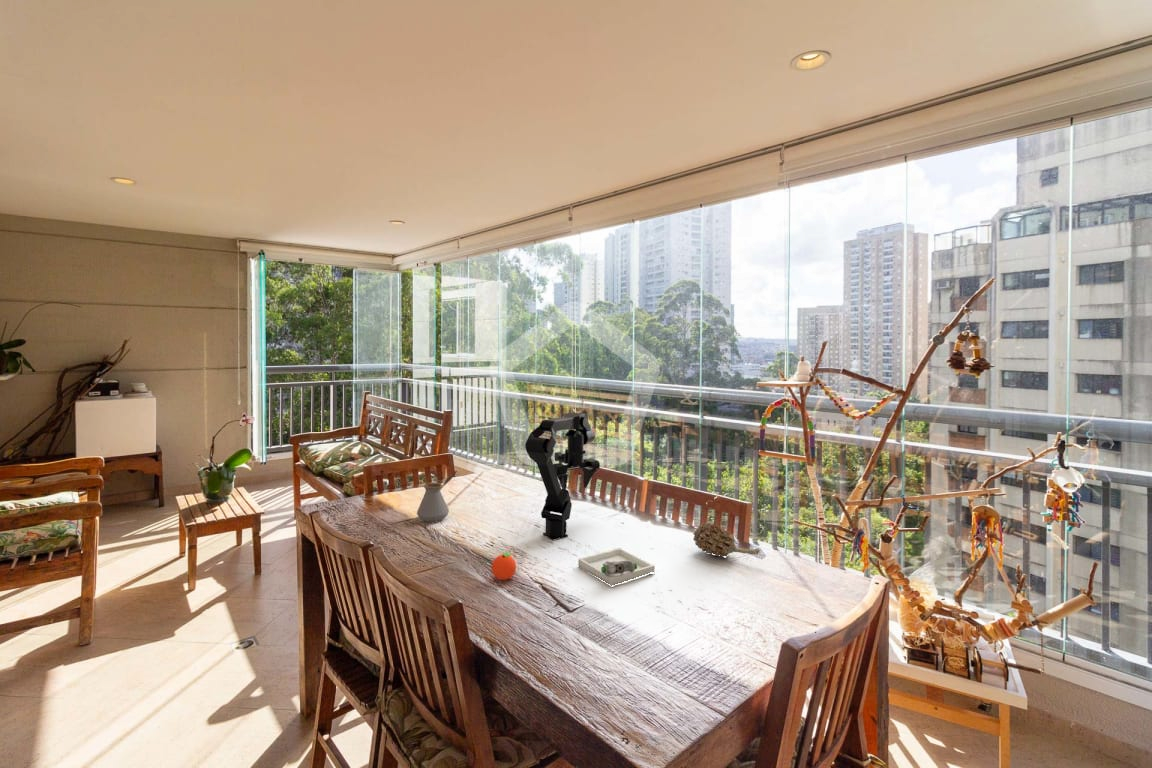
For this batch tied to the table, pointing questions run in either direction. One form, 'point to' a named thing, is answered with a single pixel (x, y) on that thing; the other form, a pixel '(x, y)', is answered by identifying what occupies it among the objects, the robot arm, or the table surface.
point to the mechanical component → (618, 567)
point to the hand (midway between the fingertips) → (574, 489)
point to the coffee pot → (433, 502)
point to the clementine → (503, 567)
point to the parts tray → (616, 555)
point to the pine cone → (717, 540)
